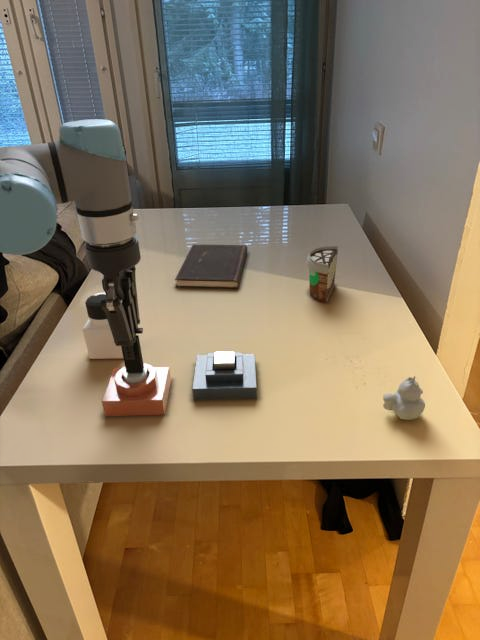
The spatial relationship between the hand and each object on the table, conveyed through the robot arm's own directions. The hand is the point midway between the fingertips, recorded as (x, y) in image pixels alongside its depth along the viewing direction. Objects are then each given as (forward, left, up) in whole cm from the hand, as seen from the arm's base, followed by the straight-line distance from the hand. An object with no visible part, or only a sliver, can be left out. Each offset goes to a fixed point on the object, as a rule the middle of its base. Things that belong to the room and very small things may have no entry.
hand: (135, 370), depth 79 cm
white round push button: (0, 0, -2) cm, 2 cm away
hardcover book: (-17, +51, -6) cm, 54 cm away
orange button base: (0, 0, -6) cm, 6 cm away
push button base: (+11, +11, -6) cm, 17 cm away
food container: (+13, +51, -6) cm, 53 cm away
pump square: (+11, +11, -2) cm, 16 cm away
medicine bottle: (-15, +9, -6) cm, 19 cm away
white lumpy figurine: (+41, +17, -6) cm, 45 cm away
